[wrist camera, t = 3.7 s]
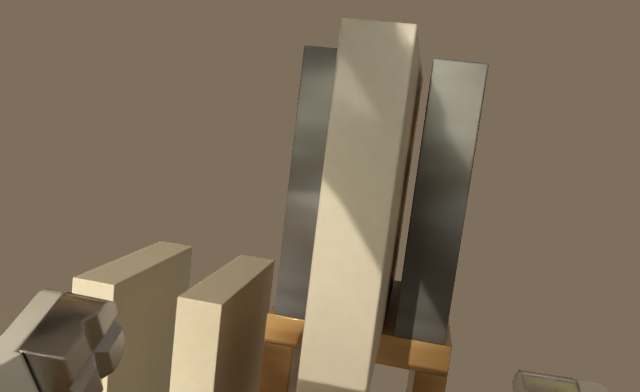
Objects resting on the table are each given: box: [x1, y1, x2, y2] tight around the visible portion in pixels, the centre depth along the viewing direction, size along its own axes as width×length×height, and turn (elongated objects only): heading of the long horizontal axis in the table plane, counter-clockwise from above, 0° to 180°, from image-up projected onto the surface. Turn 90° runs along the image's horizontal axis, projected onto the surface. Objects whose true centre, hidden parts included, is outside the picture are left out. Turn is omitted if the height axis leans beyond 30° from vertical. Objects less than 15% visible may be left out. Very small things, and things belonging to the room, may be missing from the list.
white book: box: [296, 18, 423, 392], centre depth 28 cm, size 2×19×13 cm, turn 169°
